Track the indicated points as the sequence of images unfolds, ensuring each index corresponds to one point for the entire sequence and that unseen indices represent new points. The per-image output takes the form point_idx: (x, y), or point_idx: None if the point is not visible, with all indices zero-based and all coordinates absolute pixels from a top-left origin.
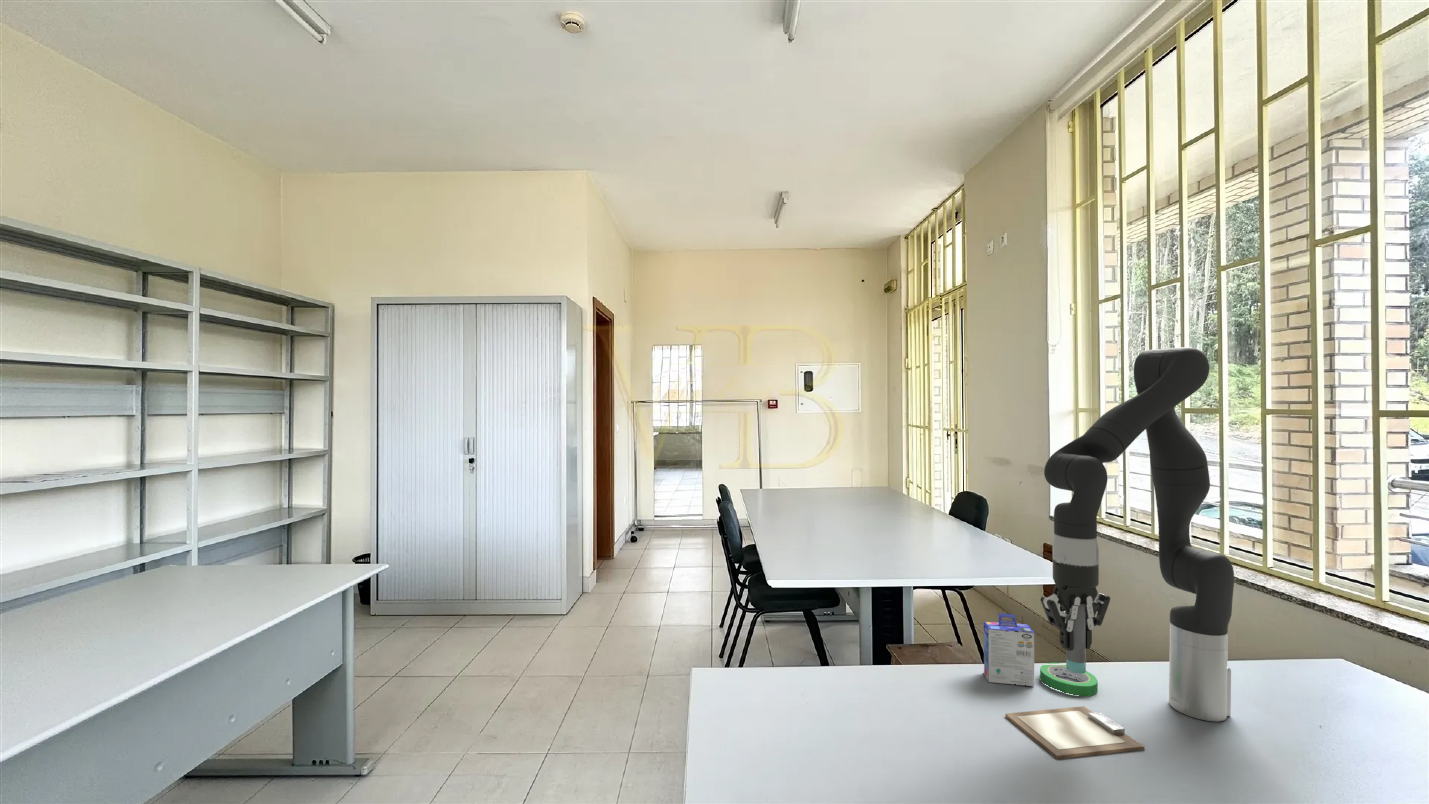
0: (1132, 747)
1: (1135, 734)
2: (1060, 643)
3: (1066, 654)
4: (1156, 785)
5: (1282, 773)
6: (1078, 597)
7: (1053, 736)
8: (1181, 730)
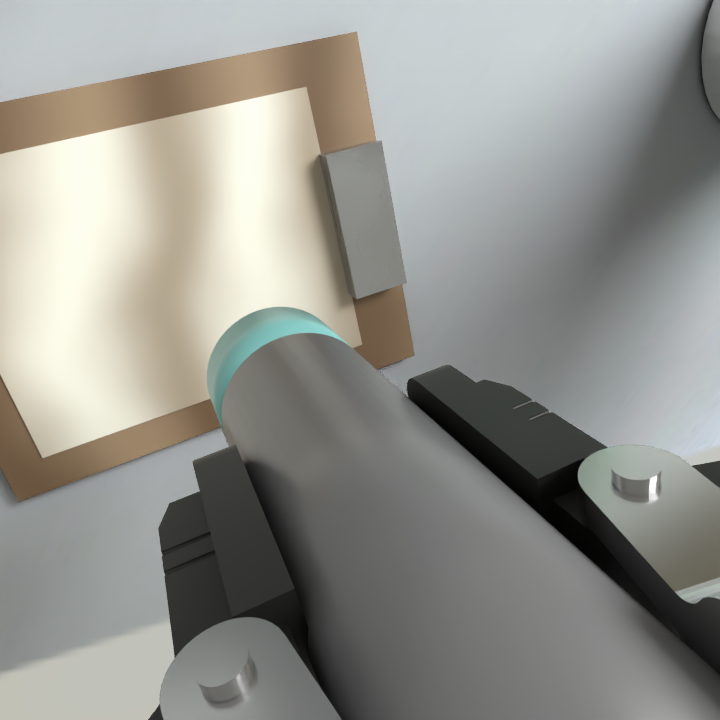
0: None
1: (442, 247)
2: (165, 526)
3: (229, 417)
4: None
5: (676, 396)
6: None
7: (60, 356)
8: (611, 198)
